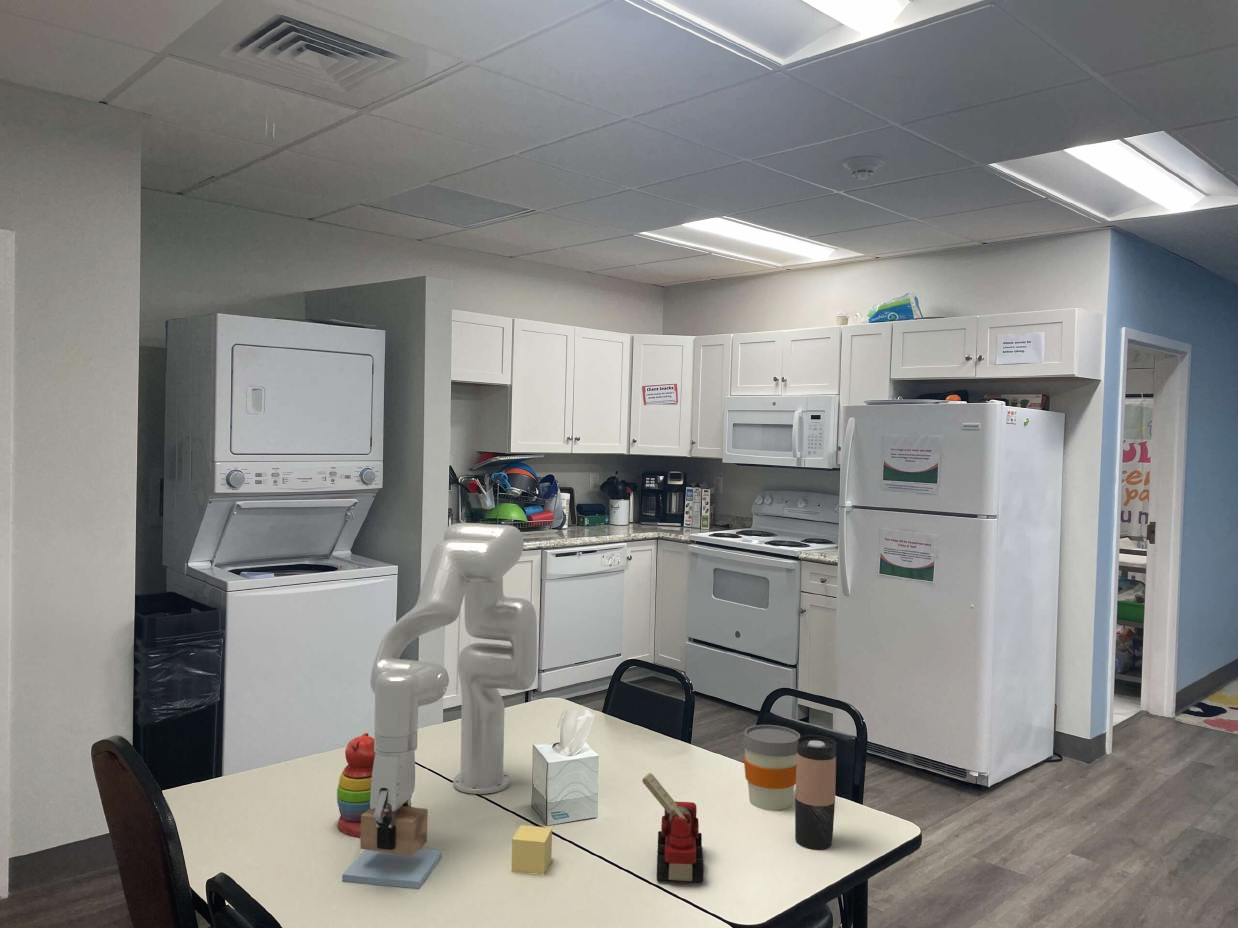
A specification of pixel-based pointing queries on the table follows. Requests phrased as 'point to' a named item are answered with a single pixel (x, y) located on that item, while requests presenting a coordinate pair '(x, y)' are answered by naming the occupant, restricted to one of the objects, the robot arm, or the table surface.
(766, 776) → the reusable coffee cup
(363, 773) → the stacking bear
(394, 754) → the robot arm
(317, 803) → the table surface
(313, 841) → the table surface
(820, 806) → the travel mug
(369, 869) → the base board
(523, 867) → the cube brick
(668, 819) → the toy fire truck
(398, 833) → the long brick
